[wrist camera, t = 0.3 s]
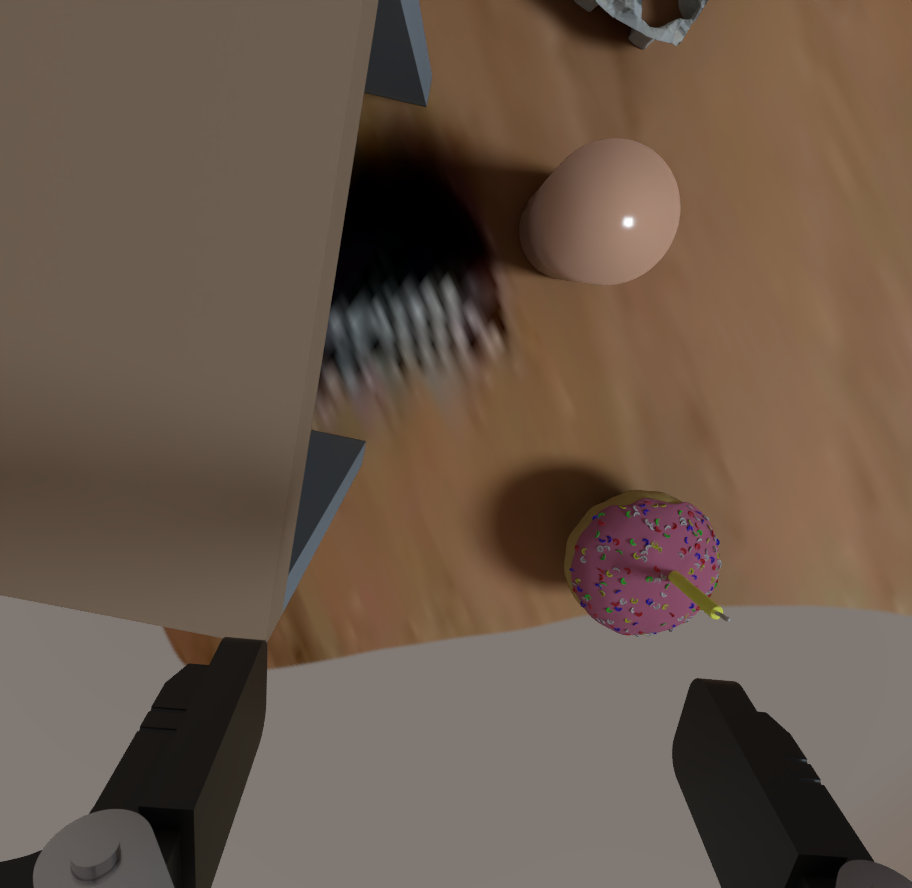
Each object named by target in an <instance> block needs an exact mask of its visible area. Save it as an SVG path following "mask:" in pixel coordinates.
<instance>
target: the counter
mask: <svg viewBox="0 0 912 888" xmlns="http://www.w3.org/2000/svg"><path fill="white" fill-rule="evenodd" d="M431 80H432V73H431V67H430V61H429V56H428V50H427V44H426V39H425V33H424V28H423V22H422V16H421V11H420V5H419V0H0V595H3V596H8V597H13V598H19V599H23V600H29V601H34V602H39V603H45V604H50V605H54V606H60V607H65V608H70V609H76V610H80V611H86V612H91V613H96V614H101V615H106V616H112V617H117V618H122V619H127V620H132V621H137V622H143V623H148V624H153V625H158V626H163V627H168V628H173V629H179V630H184V631H189V632H194V633H199V634H204V635H210V636H215V637H220V638H224V637H233V638H244V639H256V640H266V642H267V641H268V639H269V638H270V636H271V634H272V632H273V630H274V628H275V626H276V624H277V623H278V621H279V619H280V617H281V615H282V613H283V611H284V609H285V608H286V606H287V604H288V602H289V600H290V598H291V596H292V594H293V593H294V591H295V589H296V587H297V585H298V583H299V581H300V579H301V578H302V576H303V574H304V572H305V570H306V568H307V566H308V564H309V563H310V561H311V559H312V557H313V555H314V553H315V551H316V549H317V548H318V546H319V544H320V542H321V540H322V538H323V536H324V534H325V533H326V531H327V529H328V527H329V525H330V523H331V521H332V519H333V518H334V516H335V514H336V512H337V510H338V508H339V506H340V504H341V503H342V501H343V499H344V497H345V495H346V493H347V491H348V489H349V488H350V486H351V484H352V482H353V480H354V478H355V476H356V474H357V473H358V471H359V469H360V467H361V465H362V461H363V455H364V450H365V444H366V441H361V440H356V439H351V438H346V437H342V436H337V435H332V434H327V433H322V432H318V431H313V430H311V427H312V420H313V414H314V407H315V401H316V395H317V388H318V382H319V376H320V369H321V363H322V357H323V350H324V344H325V338H326V331H327V325H328V319H329V312H330V306H331V299H332V293H333V287H334V280H335V274H336V268H337V261H338V255H339V249H340V242H341V236H342V230H343V223H344V217H345V210H346V204H347V198H348V191H349V185H350V179H351V172H352V166H353V160H354V153H355V147H356V141H357V134H358V128H359V122H360V115H361V109H362V102H363V96H364V93H369V94H373V95H377V96H382V97H386V98H390V99H395V100H399V101H404V102H408V103H412V104H417V105H421V106H425V107H427V102H428V96H429V91H430V85H431Z"/></svg>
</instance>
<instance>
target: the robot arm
mask: <svg viewBox="0 0 912 888" xmlns="http://www.w3.org/2000/svg"><path fill="white" fill-rule="evenodd" d="M266 684H267V642H266V640H256V639H244V638H233V637H224V638H223V639H222V641H221V643H220V645H219V647H218V649H217V651H216V653H215V655H214V657H213V659H212V661H211V663H210V665H199V664H188V665H187V666H185V667H184V668H183V669H182V670H180V671H179V672H178V673H177V674H176V675H174V676H173V677H172V678H171V679H170V680H168V681H167V682H166V683H165V684H164V686H163V688H162V689H161V691H160V693H159V695H158V696H157V698H156V700H155V702H154V703H153V705H152V708H151V711H149V712H148V714H147V715H146V717H145V719H144V721H143V722H142V724H141V726H140V730H139V731H137V733H136V734H135V736H134V738H133V740H132V742H131V743H130V745H129V747H128V749H127V750H126V752H125V754H124V756H123V757H122V759H121V761H120V762H119V764H118V766H117V767H116V769H115V771H114V773H113V775H112V776H111V778H110V780H109V781H108V783H107V785H106V787H105V788H104V790H103V792H102V793H101V795H100V797H99V799H98V800H97V802H96V804H95V806H94V807H93V809H92V810H91V812H90V813H89V814H88V815H86V816H83V817H81V818H79V819H77V820H75V821H74V822H72V823H70V824H69V825H67V826H66V827H64V828H63V829H62V830H60V831H59V832H58V833H57V834H56V835H55V836H54V837H53V838H52V839H51V840H50V841H49V842H48V843H47V845H46V846H45V847H44V848H43V850H41V851H38V852H36V853H33V854H31V855H28V856H24V857H21V858H17V859H12V860H8V861H3V862H0V888H211V886H212V883H213V880H214V877H215V874H216V871H217V868H218V865H219V862H220V859H221V856H222V853H223V850H224V847H225V844H226V841H227V838H228V835H229V832H230V829H231V827H232V823H233V820H234V818H235V814H236V812H237V808H238V806H239V803H240V800H241V797H242V794H243V791H244V788H245V785H246V782H247V779H248V776H249V773H250V770H251V767H252V764H253V761H254V758H255V755H256V752H257V749H258V746H259V743H260V740H261V736H262V731H263V727H264V721H265V713H266V689H267V688H266V687H267V685H266ZM672 759H673V767H674V771H675V775H676V778H677V780H678V783H679V785H680V788H681V790H682V792H683V795H684V797H685V800H686V802H687V805H688V807H689V810H690V812H691V815H692V817H693V819H694V822H695V824H696V827H697V829H698V832H699V834H700V836H701V839H702V841H703V844H704V846H705V849H706V851H707V854H708V856H709V859H710V861H711V863H712V866H713V868H714V871H715V873H716V875H717V878H718V880H719V883H720V885H721V888H912V882H911V881H910V880H909V879H907V878H906V877H905V876H903V875H901V874H900V873H898V872H896V871H895V870H893V869H891V868H889V867H887V866H884V865H882V864H879V863H876V862H874V860H873V859H872V857H871V856H870V854H869V853H868V851H867V850H866V848H865V847H864V845H863V844H862V842H861V841H860V839H859V837H858V836H857V834H856V833H855V831H854V830H853V829H852V827H851V826H850V824H849V823H848V821H847V819H846V818H845V816H844V815H843V813H842V812H841V810H840V809H839V807H838V806H837V804H836V803H835V801H834V800H833V798H832V797H831V795H830V793H829V792H828V790H827V789H826V787H825V786H824V785H821V783H820V778H819V777H818V775H817V774H816V772H815V771H814V769H813V768H812V766H811V765H810V764H807V758H806V757H805V755H804V754H803V753H802V751H801V750H800V748H799V747H798V745H797V743H796V742H795V740H794V739H793V737H792V736H791V734H790V733H788V732H787V731H786V730H785V729H784V728H783V727H782V726H781V725H779V724H778V723H777V722H776V721H775V720H774V719H773V718H772V717H770V716H769V715H768V714H767V713H766V712H757V711H756V709H755V707H754V706H753V704H752V702H751V701H750V699H749V698H748V696H747V695H746V693H745V691H744V690H743V688H742V687H741V685H740V684H739V683H737V682H734V681H723V680H712V679H699V678H697V679H694V680H693V681H692V683H691V685H690V687H689V690H688V694H687V697H686V700H685V703H684V707H683V710H682V714H681V717H680V720H679V724H678V727H677V730H676V733H675V737H674V741H673V749H672Z"/></svg>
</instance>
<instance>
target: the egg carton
mask: <svg viewBox="0 0 912 888" xmlns="http://www.w3.org/2000/svg"><path fill="white" fill-rule="evenodd" d="M707 1H708V0H678V6H679V10H680V13H681V15H682V17H683V18H684V19H681V18H678V19H676V20H674V21H671V22H669V23H667V24H666V25H664V26H662V27H660V28H653V27H650V26H649V25H647V24H646V22H645V21H644V20H642V19H641V15H642V3H641V2H642V0H574V2H575V3H577V4H578V5H579V6H581V7H582V8H583V9H585V10H586V11H588V12H590V11H592V10H593V9H594V8H595V7H596V6H598V5H600V6H601V7H602V8H603V9H604V10H605V11H606V12H607V13H609V14H610V15H611V16H612V17H613V18H615V19H617V20H619V21H621V22H623V23H624V24H626V25H628V26H630V27H632V29H631V33H630V35H629V38H628V39H629V40H630V41H631V42H632V43H633V44H635V45H636V46H638V47H639V48H641V49H646V47H647V46H648V45H649V44H650V43H651V42H653V41H654V40H660V41H664V42H668V43H672V44H674V45H675V46H677V45H678V44H679V43H680V42H681V41H682V40H683V38H684V36H685V35H686V33H687V31H688V30H689V28H690V26H691V24H692V23H694V21H695V20H696V18H697V17H698V16H699V14H700V13H701V11H702V9H703V8H704V6H705V4H706V3H707Z"/></svg>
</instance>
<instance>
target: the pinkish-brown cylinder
mask: <svg viewBox="0 0 912 888" xmlns="http://www.w3.org/2000/svg"><path fill="white" fill-rule="evenodd" d="M679 219H680V196H679V190H678V186H677V183H676V180H675V178H674V176H673V173H672V172H671V170H670V168H669V167H668V165H667V164H666V163H665V162H664V160H663V159H662V158H661V157H660V156H659V155H658V154H657V153H656V152H654V151H653V150H651V149H650V148H648V147H647V146H645V145H643V144H641V143H639V142H635V141H632V140H628V139H622V138H609V139H601V140H598V141H594V142H591V143H589V144H587V145H584V146H582V147H581V148H579V149H577V150H576V151H574V152H573V153H572V154H570V155H569V156H568V157H567V158H566V159H565V160H564V161H563V162H562V163H561V164H560V165H559V166H558V167H557V168H556V170H555V171H554V172H553V173H552V174H551V175H550V176H549V177H548V178H547V180H546V181H545V182H544V183H543V184H542V185H541V186H540V187H539V188H538V190H537V191H536V192H535V193H534V194H533V195H532V196H531V198H530V199H529V200H528V202H527V204H526V206H525V208H524V210H523V212H522V216H521V220H520V227H519V235H520V242H521V246H522V249H523V252H524V254H525V256H526V257H527V259H528V260H529V262H530V263H531V264H532V265H533V266H534V267H535V268H536V269H537V270H538V271H539V272H541V273H543V274H544V275H546V276H548V277H551V278H554V279H559V280H566V281H574V282H583V283H591V284H599V285H613V284H620V283H624V282H628V281H630V280H633V279H635V278H637V277H639V276H641V275H643V274H644V273H646V272H647V271H648V270H650V269H651V268H652V267H653V266H654V265H656V264H657V263H658V262H659V261H660V259H661V258H662V257H663V256H664V255H665V253H666V252H667V250H668V249H669V247H670V245H671V243H672V241H673V239H674V237H675V234H676V231H677V228H678V224H679Z"/></svg>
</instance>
